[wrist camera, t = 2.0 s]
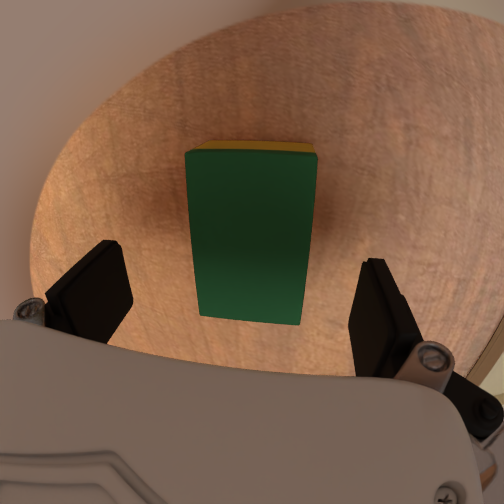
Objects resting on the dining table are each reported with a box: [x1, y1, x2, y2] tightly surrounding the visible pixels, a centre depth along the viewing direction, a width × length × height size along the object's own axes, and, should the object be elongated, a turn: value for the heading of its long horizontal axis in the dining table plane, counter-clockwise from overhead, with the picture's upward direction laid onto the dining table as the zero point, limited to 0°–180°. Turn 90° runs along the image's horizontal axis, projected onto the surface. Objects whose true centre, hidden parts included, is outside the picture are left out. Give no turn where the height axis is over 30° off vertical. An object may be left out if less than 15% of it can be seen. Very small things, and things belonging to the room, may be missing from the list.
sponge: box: [185, 140, 318, 325], centre depth 14 cm, size 8×5×4 cm, turn 0°
